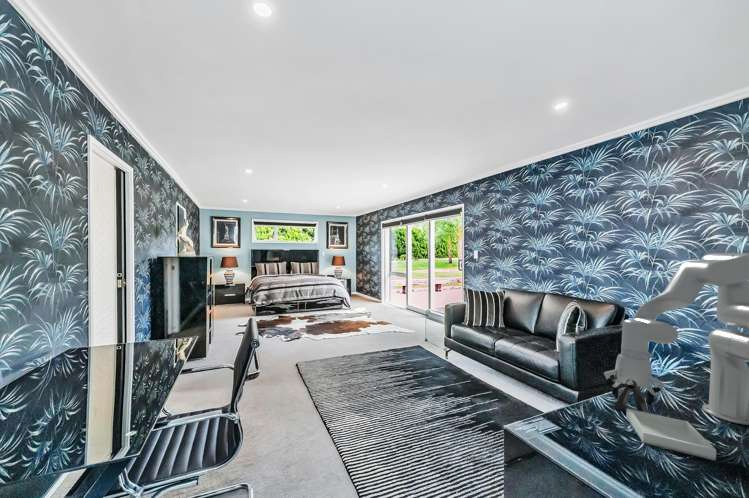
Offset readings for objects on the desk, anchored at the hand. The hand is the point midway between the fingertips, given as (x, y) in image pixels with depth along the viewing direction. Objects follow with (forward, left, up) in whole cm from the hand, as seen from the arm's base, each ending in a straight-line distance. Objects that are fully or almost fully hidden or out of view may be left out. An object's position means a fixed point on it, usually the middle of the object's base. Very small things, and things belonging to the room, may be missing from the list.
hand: (631, 400), depth 114 cm
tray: (-5, +15, -4) cm, 16 cm away
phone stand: (0, 0, -4) cm, 4 cm away
